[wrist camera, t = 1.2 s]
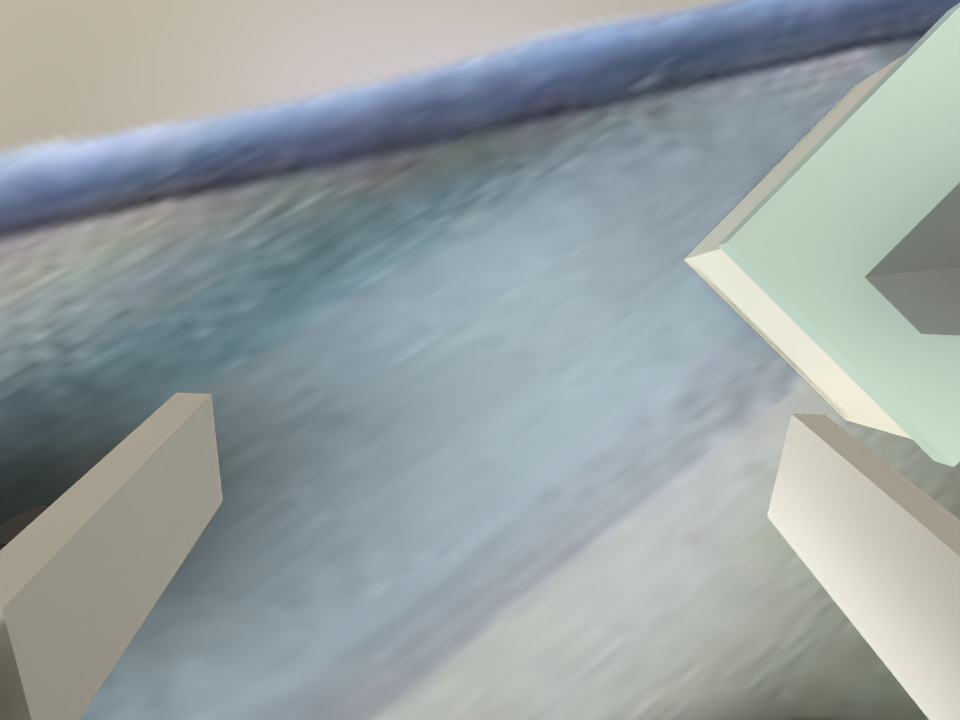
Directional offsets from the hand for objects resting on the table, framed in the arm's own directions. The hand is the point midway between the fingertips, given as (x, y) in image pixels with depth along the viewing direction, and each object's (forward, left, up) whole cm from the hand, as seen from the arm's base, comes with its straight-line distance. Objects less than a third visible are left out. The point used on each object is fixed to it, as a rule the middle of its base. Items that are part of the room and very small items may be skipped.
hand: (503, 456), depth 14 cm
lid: (-10, -19, -14) cm, 25 cm away
